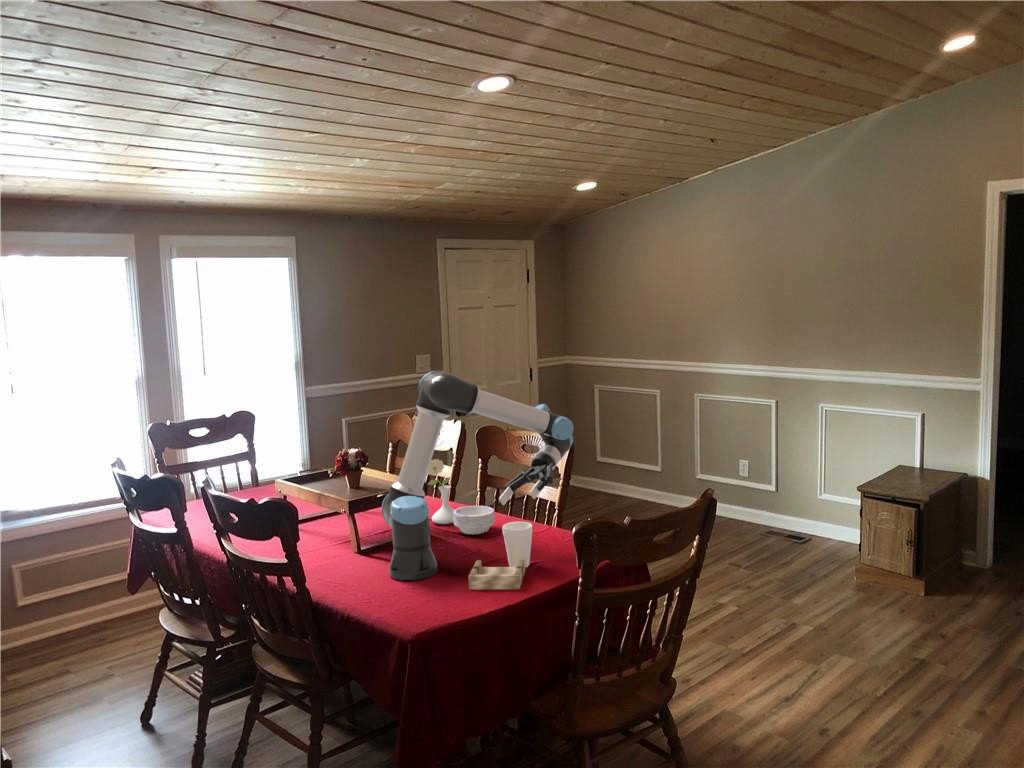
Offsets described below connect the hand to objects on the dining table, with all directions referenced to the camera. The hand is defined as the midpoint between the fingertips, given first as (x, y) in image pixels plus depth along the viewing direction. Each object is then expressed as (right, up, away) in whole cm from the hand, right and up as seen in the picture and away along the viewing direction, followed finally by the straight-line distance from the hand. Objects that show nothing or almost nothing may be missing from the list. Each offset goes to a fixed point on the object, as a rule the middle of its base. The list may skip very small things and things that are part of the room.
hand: (516, 498), depth 257 cm
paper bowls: (-15, -17, +37) cm, 44 cm away
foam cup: (+1, -21, -3) cm, 21 cm away
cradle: (-6, -22, -15) cm, 28 cm away
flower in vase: (-27, -17, +51) cm, 60 cm away
